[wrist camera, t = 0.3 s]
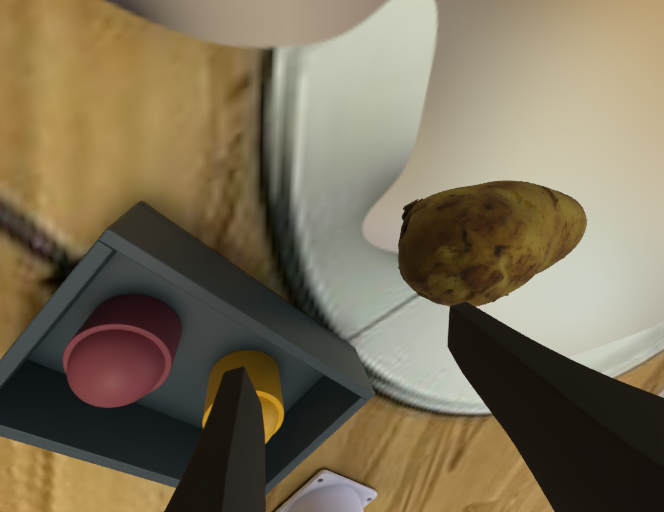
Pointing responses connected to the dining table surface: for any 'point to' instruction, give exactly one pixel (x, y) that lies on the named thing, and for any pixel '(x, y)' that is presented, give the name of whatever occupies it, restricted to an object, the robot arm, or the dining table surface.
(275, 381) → the orange rounded piece
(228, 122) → the dining table surface
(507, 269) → the potato
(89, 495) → the dining table surface
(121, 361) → the dark red hollow cup
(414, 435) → the dining table surface
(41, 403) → the tote
